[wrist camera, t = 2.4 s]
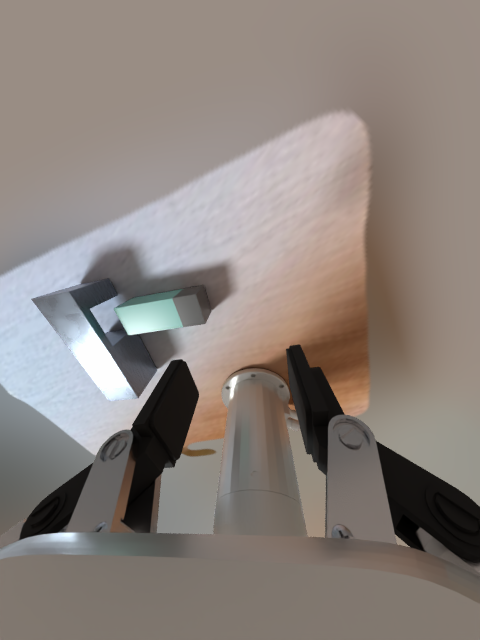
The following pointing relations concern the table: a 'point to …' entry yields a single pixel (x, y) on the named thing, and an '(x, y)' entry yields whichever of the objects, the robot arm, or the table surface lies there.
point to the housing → (98, 340)
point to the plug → (165, 310)
